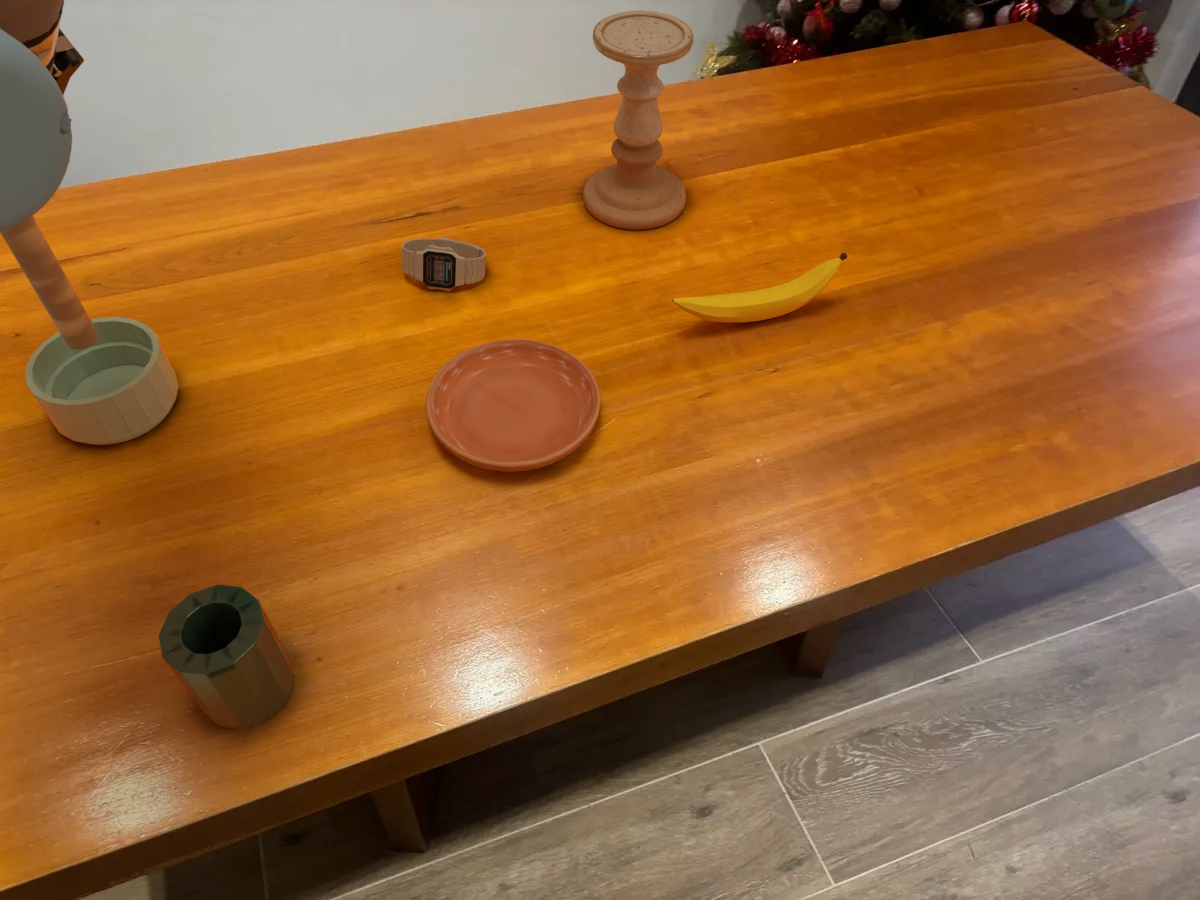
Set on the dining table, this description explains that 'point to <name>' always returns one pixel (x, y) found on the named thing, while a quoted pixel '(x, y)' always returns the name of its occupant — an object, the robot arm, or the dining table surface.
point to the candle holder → (638, 122)
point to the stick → (50, 283)
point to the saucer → (513, 404)
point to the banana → (763, 298)
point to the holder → (227, 656)
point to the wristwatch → (443, 262)
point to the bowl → (104, 383)
